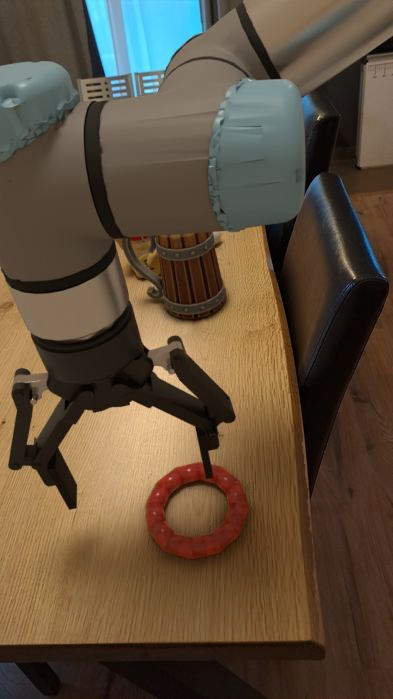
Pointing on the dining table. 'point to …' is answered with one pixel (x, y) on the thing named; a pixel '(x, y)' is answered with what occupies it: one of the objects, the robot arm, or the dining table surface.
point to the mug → (183, 273)
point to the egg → (217, 236)
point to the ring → (202, 543)
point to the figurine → (144, 254)
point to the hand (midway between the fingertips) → (140, 482)
